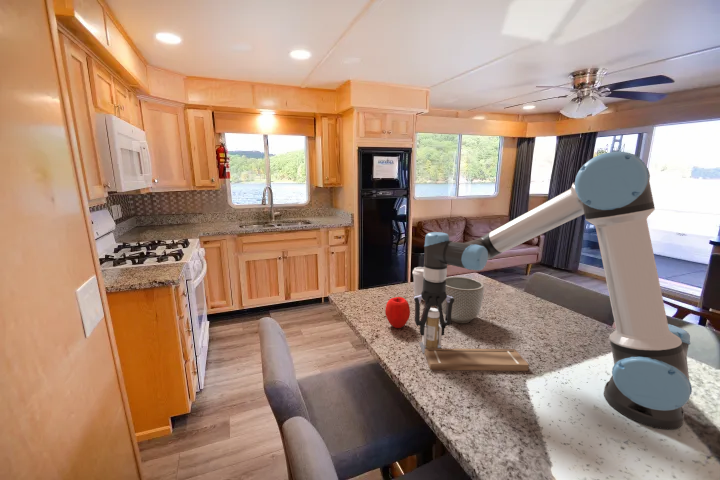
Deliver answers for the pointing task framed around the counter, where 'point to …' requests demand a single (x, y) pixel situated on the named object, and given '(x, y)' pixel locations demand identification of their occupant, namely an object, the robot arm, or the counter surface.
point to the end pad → (425, 347)
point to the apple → (397, 311)
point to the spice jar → (432, 328)
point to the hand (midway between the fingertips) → (431, 343)
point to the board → (475, 359)
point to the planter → (464, 298)
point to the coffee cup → (418, 280)
